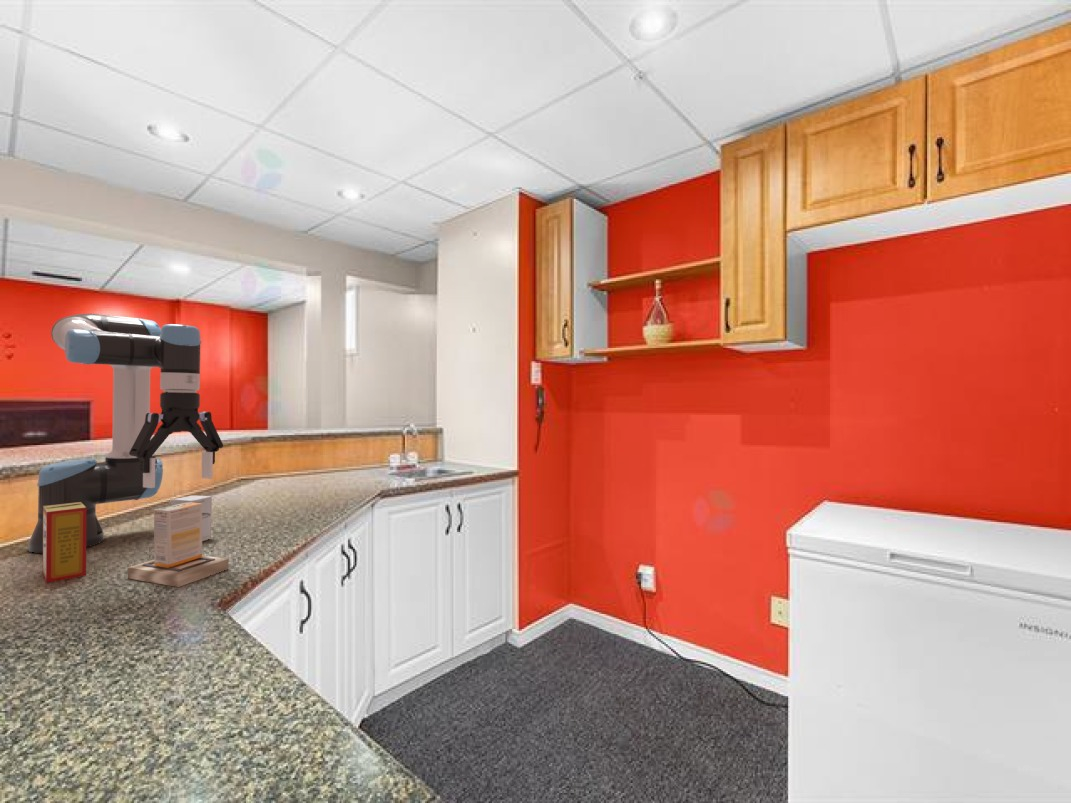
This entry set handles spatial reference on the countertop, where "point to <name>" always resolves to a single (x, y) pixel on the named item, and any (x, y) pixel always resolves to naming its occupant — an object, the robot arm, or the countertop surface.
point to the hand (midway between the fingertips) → (179, 482)
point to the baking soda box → (64, 541)
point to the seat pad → (178, 571)
